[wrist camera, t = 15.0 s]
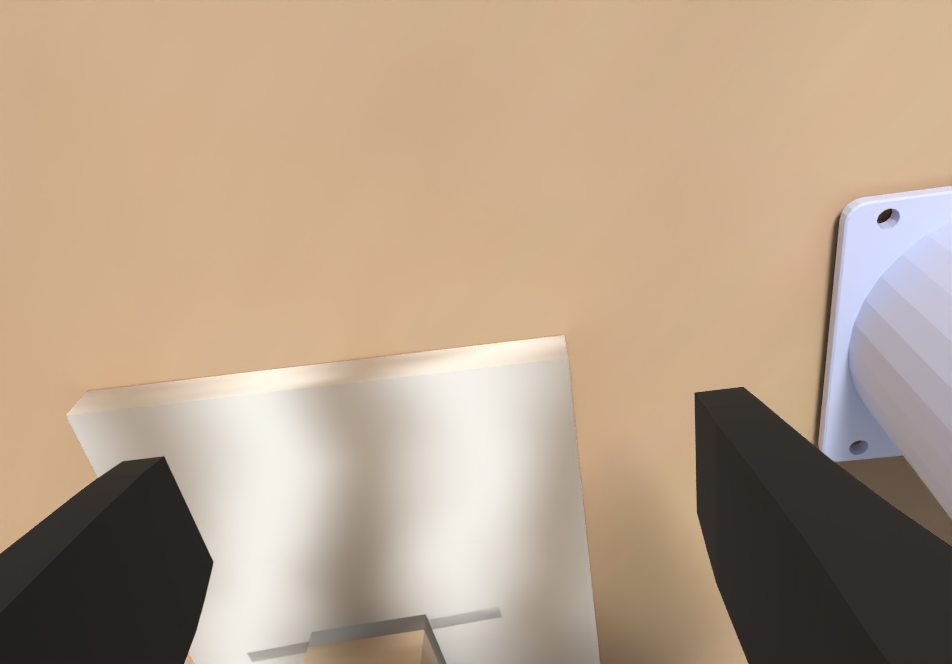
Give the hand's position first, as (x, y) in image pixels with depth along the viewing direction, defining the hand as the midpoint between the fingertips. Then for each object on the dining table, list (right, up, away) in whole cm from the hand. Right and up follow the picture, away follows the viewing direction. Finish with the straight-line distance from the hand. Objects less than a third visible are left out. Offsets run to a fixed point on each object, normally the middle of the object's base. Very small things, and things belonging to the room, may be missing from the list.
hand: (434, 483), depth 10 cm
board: (-3, -7, +15) cm, 17 cm away
